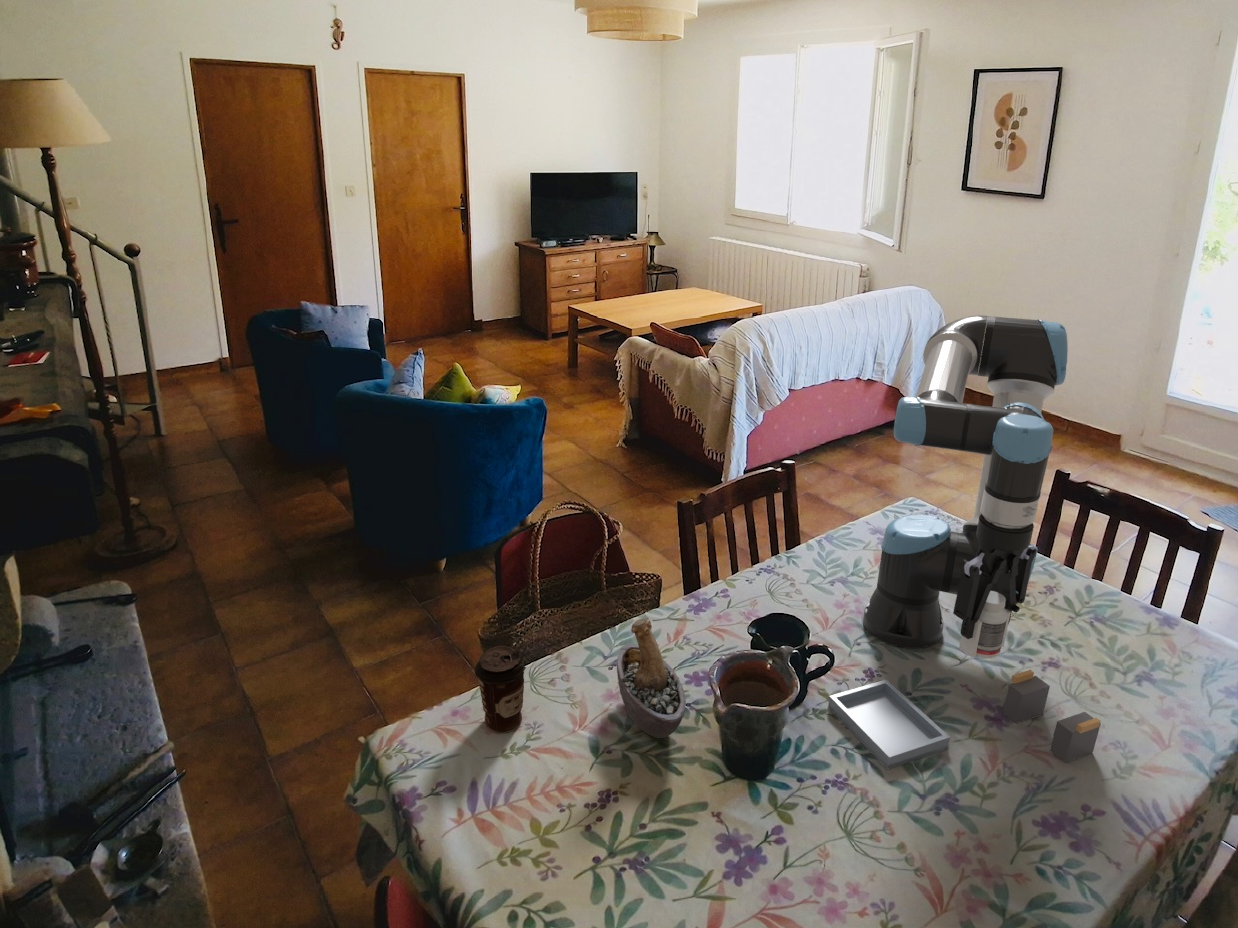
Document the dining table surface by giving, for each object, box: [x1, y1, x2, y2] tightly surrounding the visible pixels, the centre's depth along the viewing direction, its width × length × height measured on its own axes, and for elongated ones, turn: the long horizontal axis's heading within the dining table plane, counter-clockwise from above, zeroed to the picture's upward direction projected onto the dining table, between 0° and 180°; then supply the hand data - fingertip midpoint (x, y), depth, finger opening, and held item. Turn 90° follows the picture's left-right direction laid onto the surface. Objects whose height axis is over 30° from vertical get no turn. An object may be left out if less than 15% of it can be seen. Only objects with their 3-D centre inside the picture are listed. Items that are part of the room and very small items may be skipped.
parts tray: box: [827, 678, 951, 771], centre depth 141 cm, size 16×12×2 cm
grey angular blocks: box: [1002, 669, 1102, 764], centre depth 139 cm, size 14×6×7 cm, turn 22°
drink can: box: [474, 645, 527, 734], centre depth 141 cm, size 9×8×13 cm
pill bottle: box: [975, 591, 1007, 659], centre depth 133 cm, size 5×5×10 cm
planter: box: [616, 618, 687, 739], centre depth 140 cm, size 15×17×20 cm
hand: (981, 646), depth 135 cm, fingers closed on pill bottle, 5 cm apart
